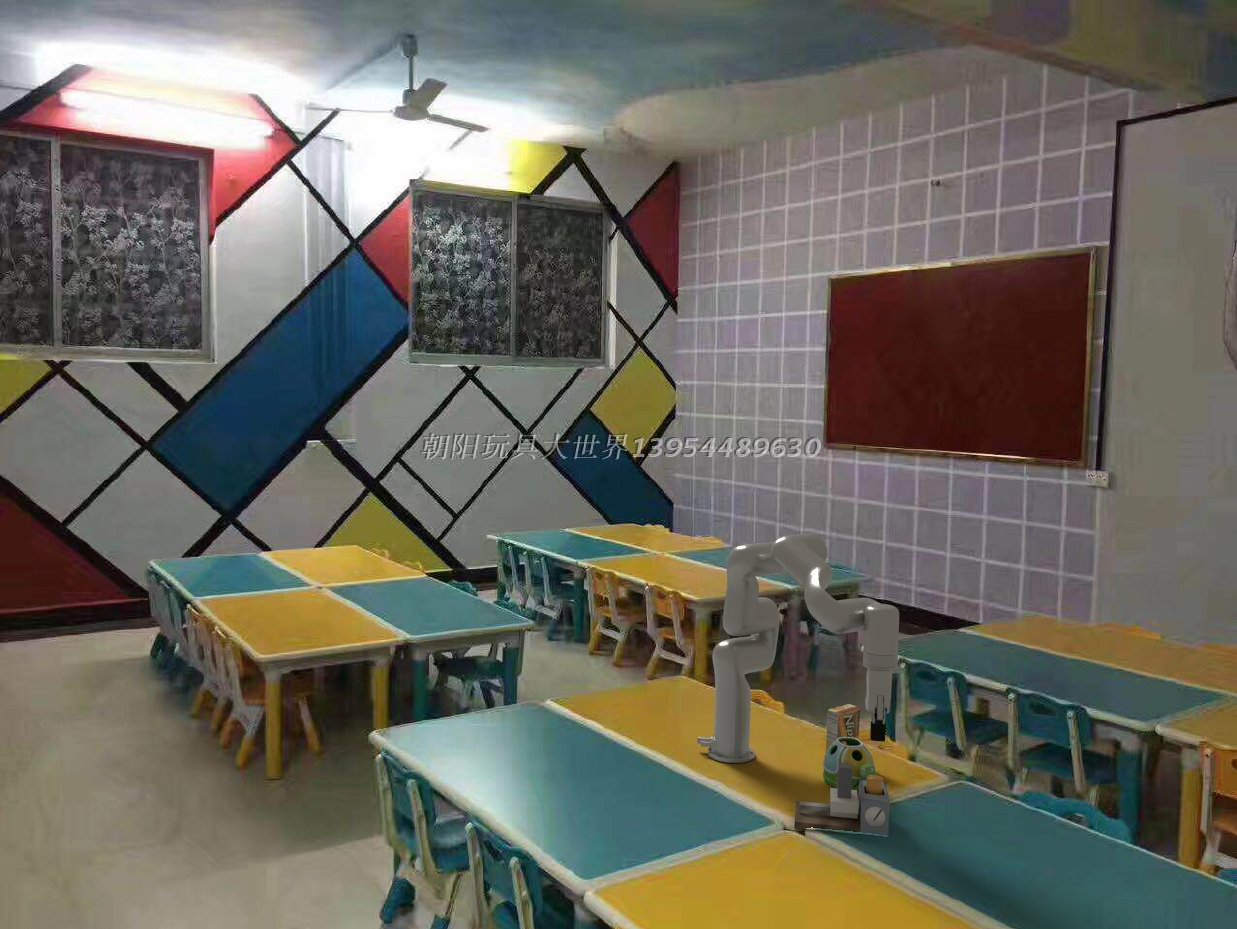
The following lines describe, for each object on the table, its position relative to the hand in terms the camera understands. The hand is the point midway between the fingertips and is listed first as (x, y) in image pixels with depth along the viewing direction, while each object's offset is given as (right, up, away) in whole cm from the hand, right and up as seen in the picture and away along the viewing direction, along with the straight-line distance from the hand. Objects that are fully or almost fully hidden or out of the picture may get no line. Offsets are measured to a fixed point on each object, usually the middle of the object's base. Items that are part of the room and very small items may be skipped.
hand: (877, 739), depth 234 cm
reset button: (0, -13, +1) cm, 13 cm away
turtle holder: (-1, -19, +22) cm, 29 cm away
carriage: (-7, -18, +3) cm, 19 cm away
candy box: (0, -17, +39) cm, 43 cm away
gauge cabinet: (-1, -20, +2) cm, 20 cm away
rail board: (-11, -19, +4) cm, 23 cm away
